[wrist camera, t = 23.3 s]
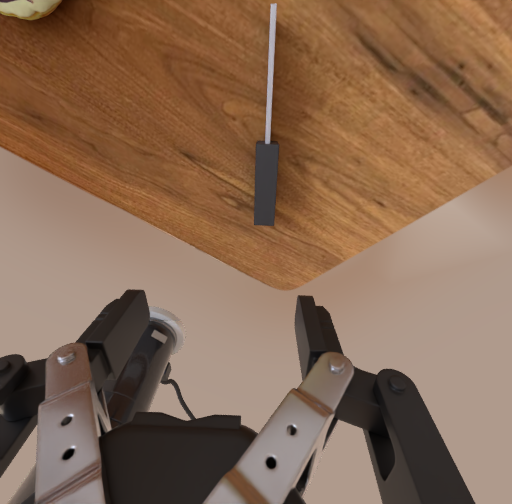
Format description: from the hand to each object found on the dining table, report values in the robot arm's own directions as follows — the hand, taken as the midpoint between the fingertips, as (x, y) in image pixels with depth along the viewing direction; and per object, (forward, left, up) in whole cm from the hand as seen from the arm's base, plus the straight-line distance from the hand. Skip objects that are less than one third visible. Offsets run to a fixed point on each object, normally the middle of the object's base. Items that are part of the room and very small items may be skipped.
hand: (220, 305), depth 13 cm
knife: (+7, -2, -22) cm, 24 cm away
